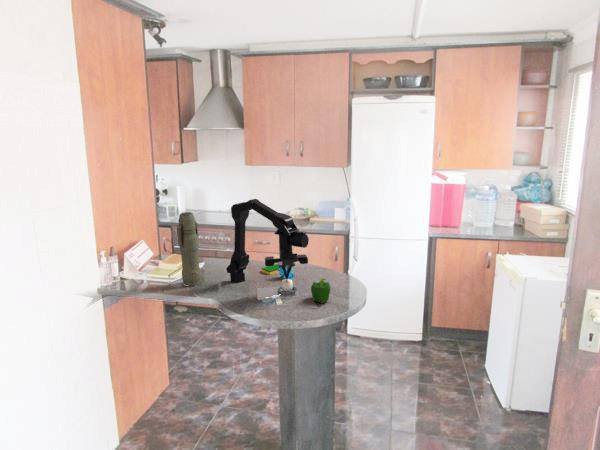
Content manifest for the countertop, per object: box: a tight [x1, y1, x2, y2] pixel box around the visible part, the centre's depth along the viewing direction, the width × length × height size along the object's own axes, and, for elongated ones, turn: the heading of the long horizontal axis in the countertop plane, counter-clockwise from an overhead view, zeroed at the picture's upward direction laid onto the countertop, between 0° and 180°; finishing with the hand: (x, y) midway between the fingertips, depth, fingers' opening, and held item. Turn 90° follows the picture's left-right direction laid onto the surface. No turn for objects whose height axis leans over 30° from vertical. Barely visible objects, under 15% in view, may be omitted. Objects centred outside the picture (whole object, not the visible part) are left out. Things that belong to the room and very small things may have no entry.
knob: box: [281, 278, 294, 292], centre depth 190 cm, size 5×5×6 cm
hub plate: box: [256, 285, 300, 301], centre depth 190 cm, size 18×14×2 cm
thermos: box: [176, 211, 202, 287], centre depth 204 cm, size 9×12×35 cm
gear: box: [278, 266, 295, 280], centre depth 210 cm, size 11×6×10 cm
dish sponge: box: [261, 263, 287, 276], centre depth 224 cm, size 7×14×2 cm, turn 130°
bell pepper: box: [310, 277, 331, 304], centre depth 181 cm, size 8×8×10 cm
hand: (286, 278), depth 189 cm, fingers closed
